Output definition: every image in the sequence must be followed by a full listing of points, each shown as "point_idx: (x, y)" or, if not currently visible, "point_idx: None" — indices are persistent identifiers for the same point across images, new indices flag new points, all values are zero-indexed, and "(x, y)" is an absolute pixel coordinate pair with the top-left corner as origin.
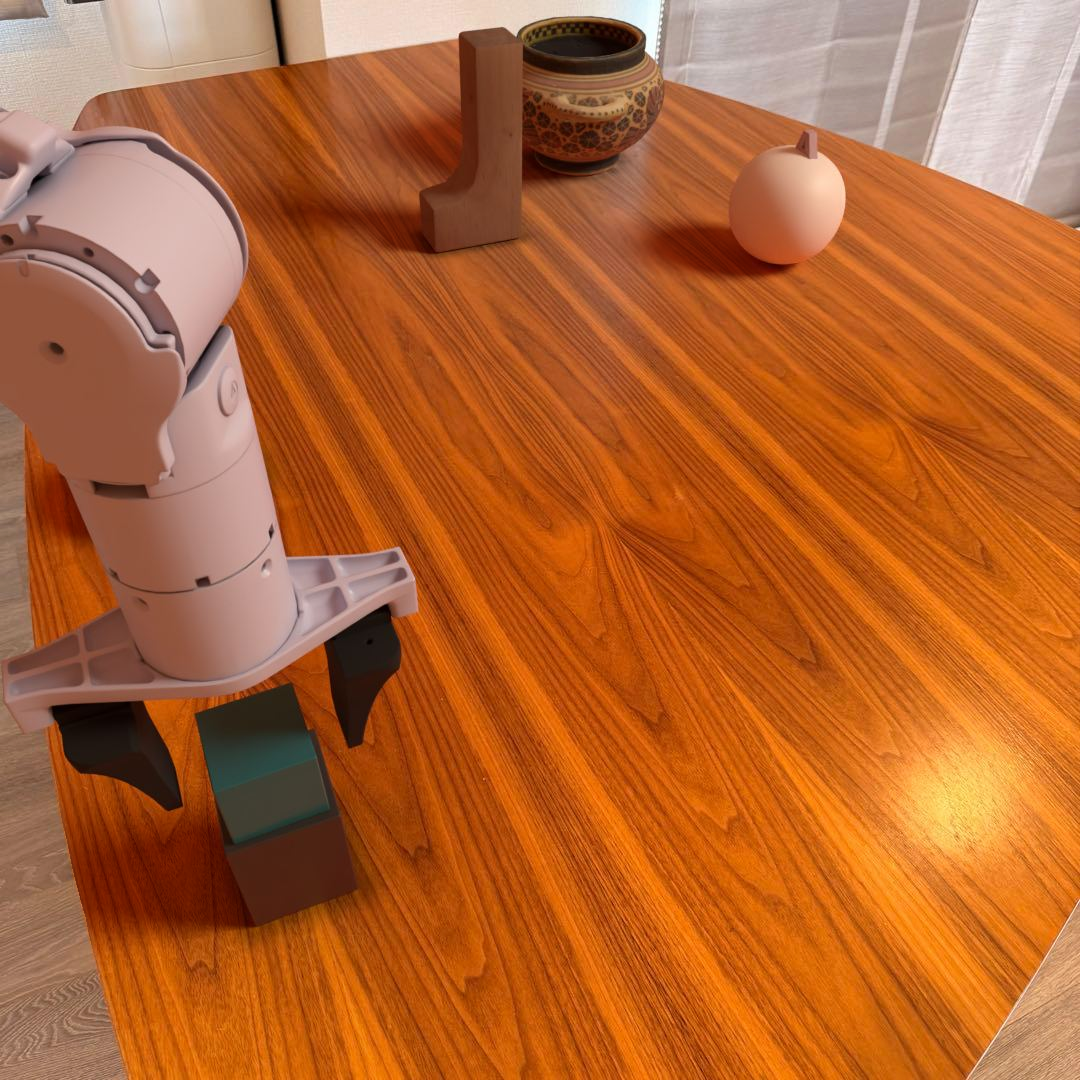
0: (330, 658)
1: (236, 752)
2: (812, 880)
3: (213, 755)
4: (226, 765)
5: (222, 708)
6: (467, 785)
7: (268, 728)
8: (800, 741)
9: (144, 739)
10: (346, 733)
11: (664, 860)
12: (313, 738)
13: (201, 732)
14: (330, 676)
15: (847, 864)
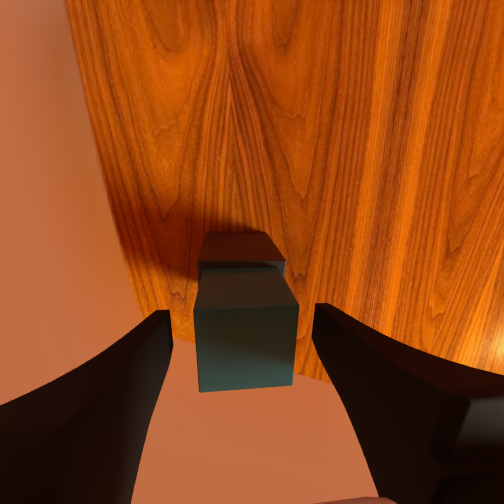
0: (370, 391)
1: (226, 364)
2: (444, 348)
3: (205, 360)
4: (215, 372)
5: (223, 312)
6: (340, 249)
7: (261, 348)
8: (498, 290)
9: (124, 489)
10: (322, 359)
11: (399, 321)
12: (282, 270)
13: (197, 333)
14: (341, 331)
15: (461, 347)
